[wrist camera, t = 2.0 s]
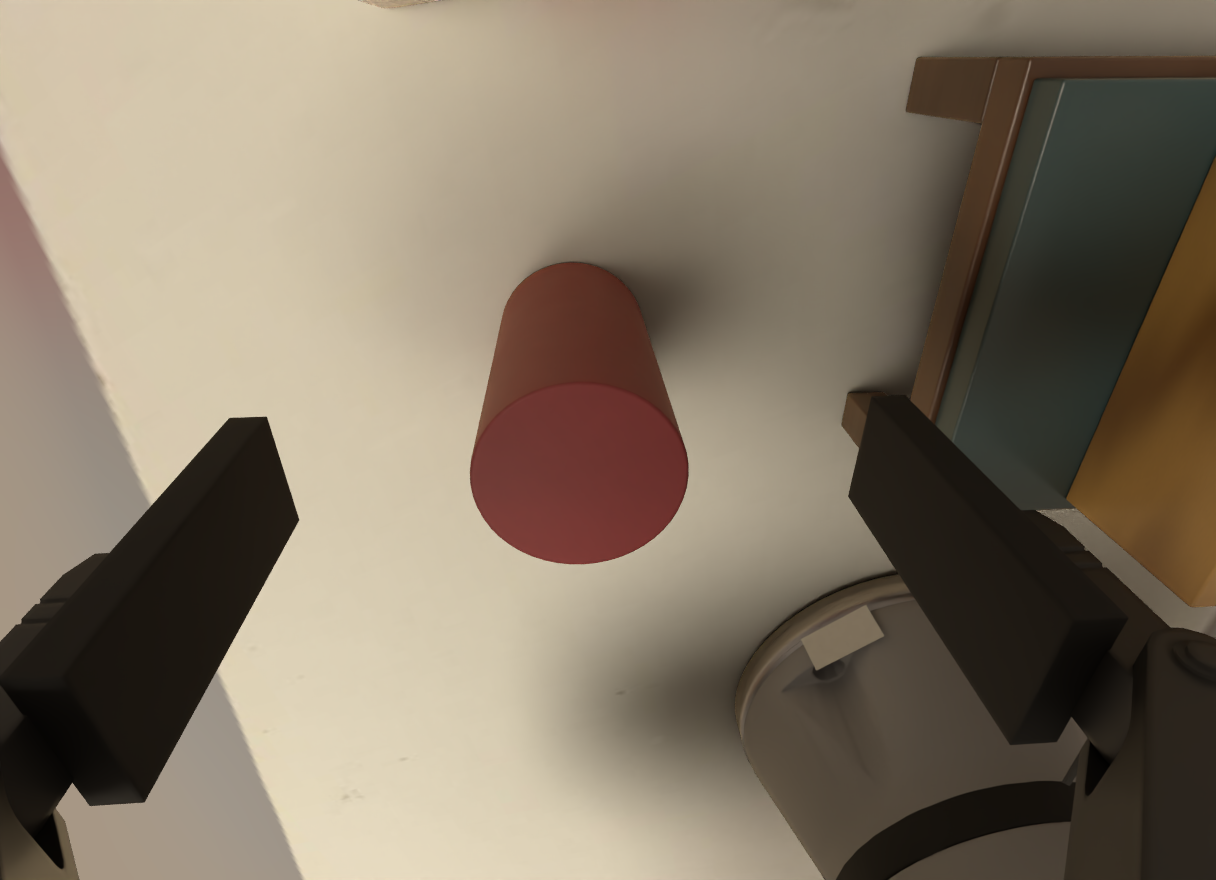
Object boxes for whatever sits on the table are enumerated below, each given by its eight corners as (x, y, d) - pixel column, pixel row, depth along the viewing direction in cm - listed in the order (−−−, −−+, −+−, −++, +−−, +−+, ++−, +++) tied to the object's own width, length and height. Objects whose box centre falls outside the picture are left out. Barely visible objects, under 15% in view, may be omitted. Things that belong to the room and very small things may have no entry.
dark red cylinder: (641, 394, 23) (683, 560, 16) (507, 398, 23) (481, 570, 15) (644, 260, 21) (696, 378, 13) (494, 263, 21) (456, 386, 13)
